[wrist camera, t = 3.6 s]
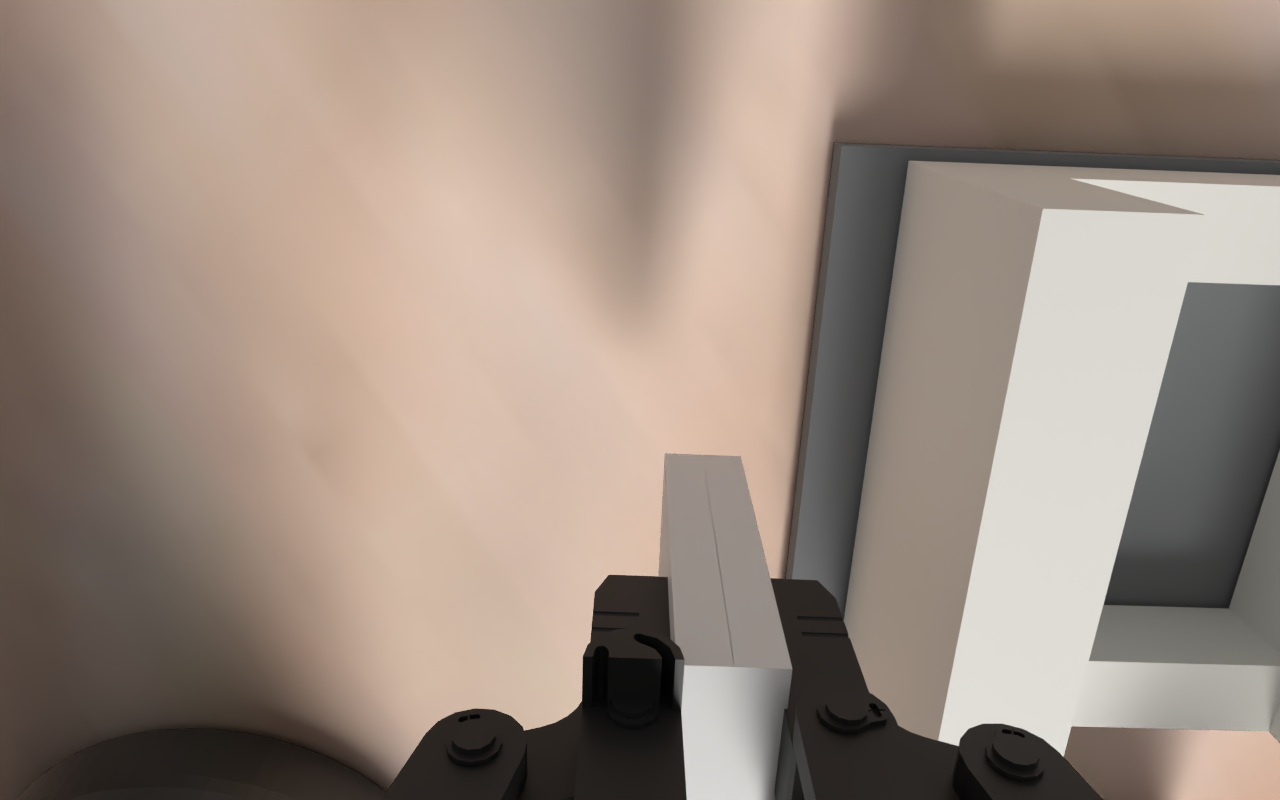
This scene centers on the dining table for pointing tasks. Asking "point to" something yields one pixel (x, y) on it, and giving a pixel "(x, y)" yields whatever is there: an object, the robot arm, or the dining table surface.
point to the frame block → (1048, 455)
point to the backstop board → (1181, 424)
